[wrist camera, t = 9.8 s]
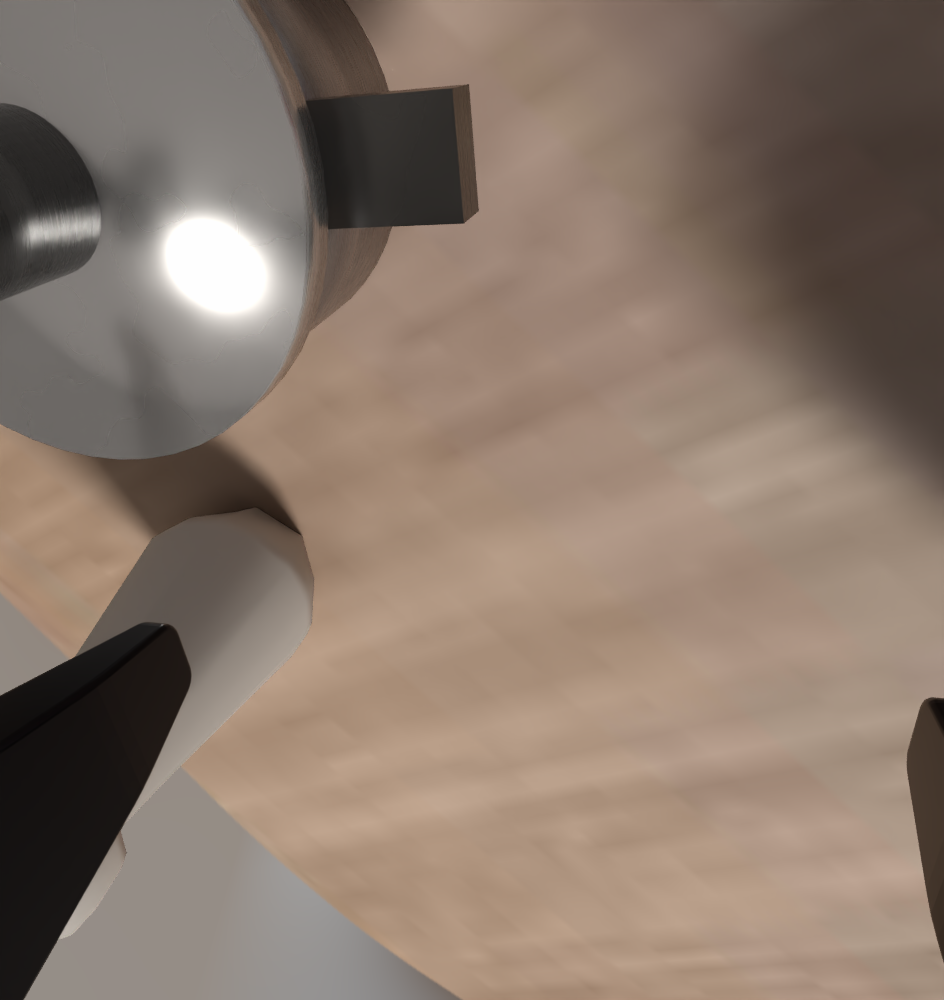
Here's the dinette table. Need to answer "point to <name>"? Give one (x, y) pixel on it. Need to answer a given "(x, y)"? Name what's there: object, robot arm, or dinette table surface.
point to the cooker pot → (373, 142)
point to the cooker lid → (151, 221)
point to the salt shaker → (210, 631)
